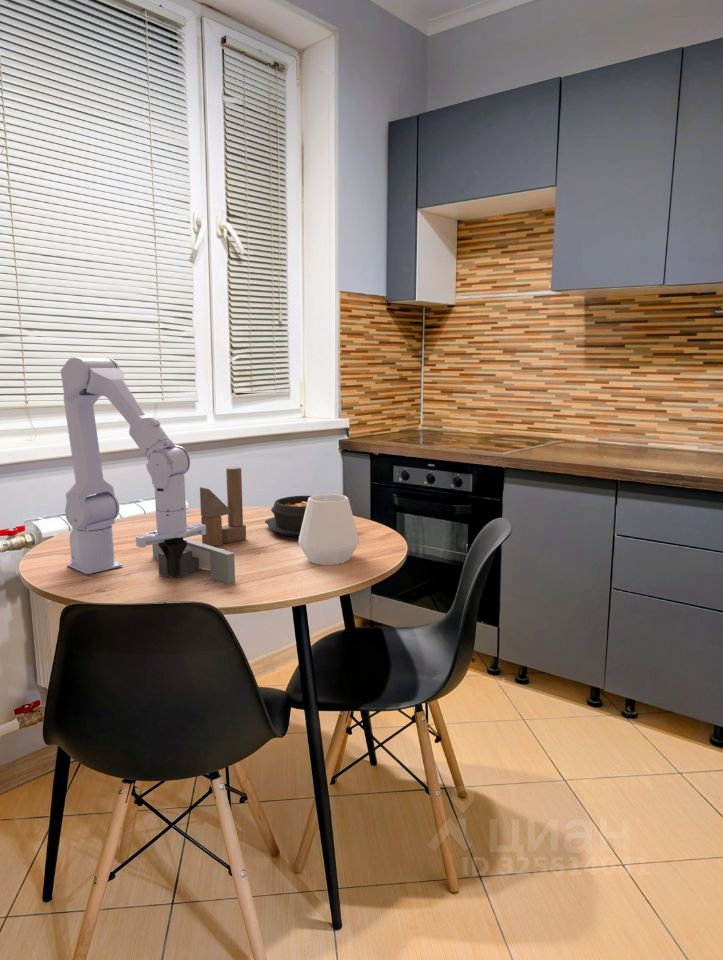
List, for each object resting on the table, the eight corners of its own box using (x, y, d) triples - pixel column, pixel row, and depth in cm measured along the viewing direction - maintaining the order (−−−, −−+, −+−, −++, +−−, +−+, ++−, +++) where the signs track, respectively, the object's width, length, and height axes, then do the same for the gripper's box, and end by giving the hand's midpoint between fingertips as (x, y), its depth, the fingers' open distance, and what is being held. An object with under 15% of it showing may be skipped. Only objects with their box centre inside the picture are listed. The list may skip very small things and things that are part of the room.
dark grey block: (158, 574, 138) (158, 553, 137) (183, 566, 144) (182, 545, 143) (175, 578, 136) (174, 556, 135) (199, 569, 142) (198, 548, 141)
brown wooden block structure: (201, 545, 161) (198, 471, 158) (237, 536, 169) (235, 466, 166) (210, 548, 159) (207, 472, 156) (246, 539, 167) (244, 467, 164)
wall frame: (153, 557, 151) (151, 531, 150) (159, 555, 152) (158, 530, 151) (228, 584, 132) (227, 554, 131) (235, 582, 133) (234, 552, 132)
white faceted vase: (358, 550, 156) (358, 491, 154) (359, 567, 143) (359, 503, 141) (300, 551, 156) (299, 492, 154) (296, 568, 143) (295, 503, 140)
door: (169, 560, 147) (168, 540, 146) (173, 559, 148) (172, 539, 147) (221, 572, 138) (220, 550, 138) (225, 570, 139) (224, 549, 139)
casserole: (363, 536, 170) (363, 503, 169) (302, 548, 158) (302, 513, 157) (306, 519, 189) (305, 489, 188) (248, 529, 177) (247, 498, 176)
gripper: (147, 517, 124) (151, 588, 126) (213, 506, 135) (216, 571, 137) (128, 512, 129) (132, 580, 131) (193, 501, 139) (196, 564, 142)
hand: (174, 575), depth 134 cm, fingers closed
